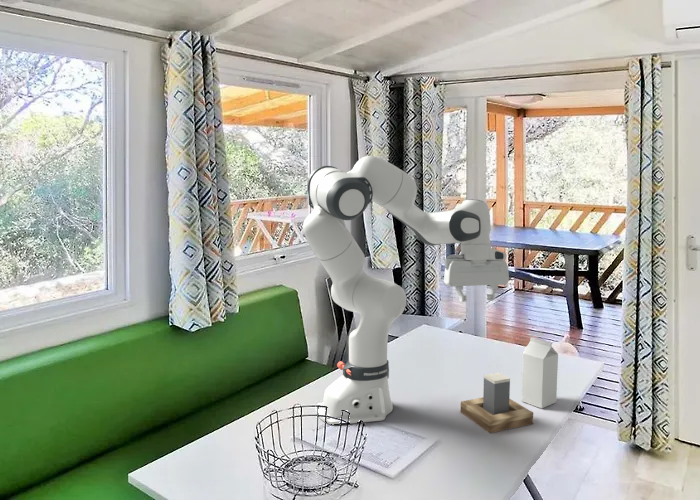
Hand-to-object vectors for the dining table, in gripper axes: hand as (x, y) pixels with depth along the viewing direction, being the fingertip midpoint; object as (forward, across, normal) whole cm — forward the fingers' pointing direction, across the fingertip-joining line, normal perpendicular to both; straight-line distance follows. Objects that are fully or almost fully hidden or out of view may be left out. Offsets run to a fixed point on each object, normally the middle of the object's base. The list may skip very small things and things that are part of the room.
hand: (477, 300), depth 170 cm
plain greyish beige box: (+30, -1, -11) cm, 32 cm away
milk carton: (+30, +17, -5) cm, 35 cm away
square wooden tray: (+32, -1, -10) cm, 34 cm away
